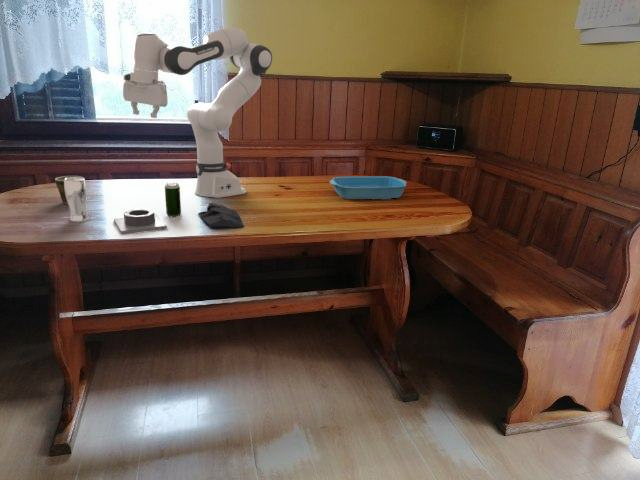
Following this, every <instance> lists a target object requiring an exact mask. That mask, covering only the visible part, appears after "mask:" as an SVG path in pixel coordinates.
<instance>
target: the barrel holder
mask: <svg viewBox="0 0 640 480" xmlns="http://www.w3.org/2000/svg"><path fill="white" fill-rule="evenodd" d="M113 222H114V224H115V226H116V227H117V229H118V231H119V232H120V234H121V235H128V234H136V233H145V231H146V232H153V230H154V231H161V230H167V229H168V226H167V224H166V223H165V222H164V221H163V220H162V218H161V217H160V216H159V215H158V214H155V211H153V210H152V209H148V208H135V209H130V210H126V211H124V212H123V217H118V218H117V217H116V218H113Z"/></svg>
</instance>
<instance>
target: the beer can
mask: <svg viewBox="0 0 640 480" xmlns="http://www.w3.org/2000/svg"><path fill="white" fill-rule="evenodd" d="M180 187H181V186H180V184H179V183H178V182H168V183H165V184H164V197H165V198H164V199H165V210H166V212H165V213H166V215H167V217H170V218H175V217H180V216H181V214H182V205H181V188H180Z"/></svg>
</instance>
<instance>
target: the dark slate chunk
mask: <svg viewBox="0 0 640 480" xmlns="http://www.w3.org/2000/svg"><path fill="white" fill-rule="evenodd" d="M197 215H198V216H199V217H200V218H201V219H202V220H203V222H204V223H206V225H208V226H209V227H210V228H213V229H220V228H221V229H222V228H223V229H224V228H225V229H242V228H245V224H244V223H243V222H244V221H243V220H242V218H241V216H240V215H239V213H238V211H237V210H236V209H231V208H229V207H227V206H226V205H223V204H217V203H213V202H210V203H208V206H207V207H206V210H205V211H200V212H198V214H197Z"/></svg>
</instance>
